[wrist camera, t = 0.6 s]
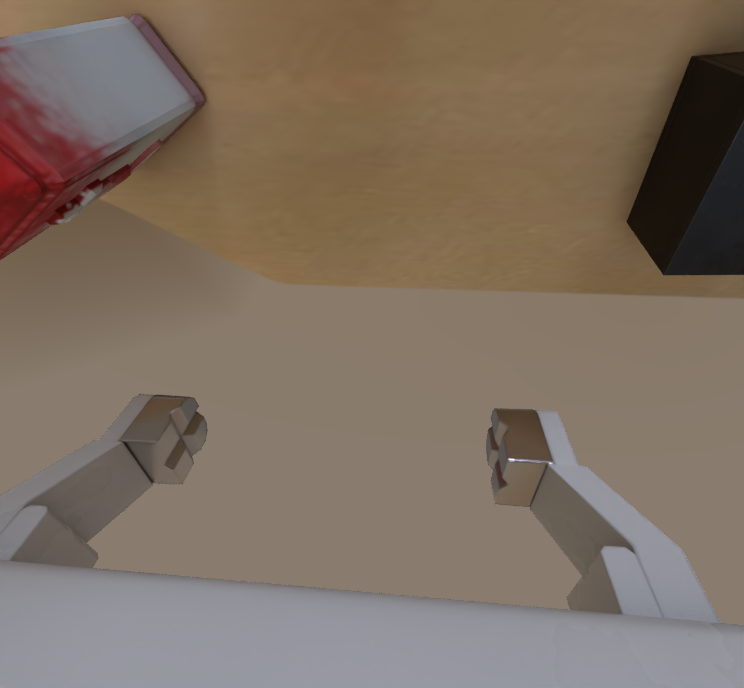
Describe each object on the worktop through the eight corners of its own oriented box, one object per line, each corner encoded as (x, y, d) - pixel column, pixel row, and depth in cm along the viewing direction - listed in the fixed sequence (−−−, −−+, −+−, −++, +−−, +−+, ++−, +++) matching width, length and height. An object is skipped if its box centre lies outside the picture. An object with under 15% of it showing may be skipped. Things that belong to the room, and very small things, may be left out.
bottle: (134, -2, 36) (-309, 52, 15) (217, 106, 41) (-18, 256, 20) (63, 92, 42) (-310, 220, 21) (143, 174, 48) (-91, 339, 27)
